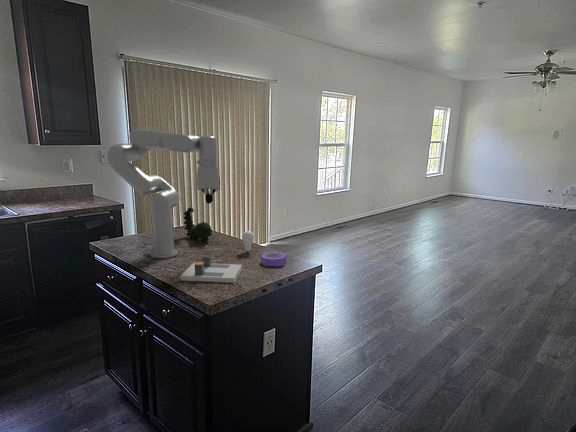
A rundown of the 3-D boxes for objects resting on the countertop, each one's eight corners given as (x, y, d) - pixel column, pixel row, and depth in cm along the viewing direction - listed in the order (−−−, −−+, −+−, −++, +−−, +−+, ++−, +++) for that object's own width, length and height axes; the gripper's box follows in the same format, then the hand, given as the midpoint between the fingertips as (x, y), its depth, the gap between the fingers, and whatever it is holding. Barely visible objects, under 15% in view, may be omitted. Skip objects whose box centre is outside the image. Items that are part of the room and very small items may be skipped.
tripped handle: (194, 274, 147) (194, 264, 147) (197, 271, 150) (196, 261, 150) (202, 274, 147) (201, 264, 146) (204, 271, 150) (204, 262, 149)
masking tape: (256, 263, 170) (256, 255, 169) (272, 257, 178) (272, 249, 178) (274, 269, 162) (274, 260, 162) (291, 262, 171) (291, 255, 170)
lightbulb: (242, 249, 189) (242, 229, 186) (254, 249, 189) (253, 229, 187) (241, 253, 183) (241, 232, 181) (253, 253, 183) (253, 232, 181)
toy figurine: (181, 240, 211) (204, 245, 194) (178, 208, 209) (201, 210, 191) (195, 237, 218) (219, 242, 200) (192, 206, 215) (216, 208, 197)
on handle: (202, 265, 157) (202, 257, 156) (204, 263, 160) (204, 255, 159) (209, 266, 157) (209, 257, 156) (211, 263, 160) (211, 255, 159)
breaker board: (180, 280, 147) (180, 275, 146) (193, 266, 162) (193, 262, 162) (234, 282, 145) (234, 277, 145) (242, 268, 161) (242, 264, 161)
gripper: (189, 163, 163) (191, 203, 167) (222, 164, 162) (223, 204, 166) (195, 162, 170) (196, 201, 174) (226, 163, 169) (226, 202, 173)
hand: (209, 202), depth 170 cm, fingers closed
